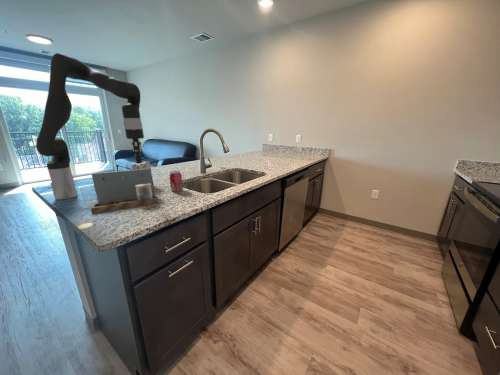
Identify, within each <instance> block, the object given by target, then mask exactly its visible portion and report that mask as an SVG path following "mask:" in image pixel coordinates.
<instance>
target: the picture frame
mask: <svg viewBox="0 0 500 375" xmlns="http://www.w3.org/2000/svg"><path fill="white" fill-rule="evenodd" d="M135 187H136V192H137V198H138V201H139V200H146V199H153V197H152V190H151V184H150V183H149V184H140V185H136V186H135Z"/></svg>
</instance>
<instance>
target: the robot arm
mask: <svg viewBox="0 0 500 375" xmlns="http://www.w3.org/2000/svg"><path fill="white" fill-rule="evenodd" d="M49 68H50V69H49V70H50V73H49V85H48V92H47V96H46V97H47V98H46V103H45V107H44V113H43V114H44V115H43V118H42V119H43V120H42V122H41V123H42V124H41V127H40V131H39V133H38V136H37V139H36V143H35V147H36V151H37V152H38V154H39V155H41V156H43V157H52V159H51V160H50V161H48V162H47V163H46V167H47V171H48V174H49V178H50V180H51V181H50V186H51V190H52V193H53V196H54V200H58V201H59V200H61V201H62V200H69V199H73V198H76V197H77V196H79V194H78V190H77V187H76V184H75V180H74V175H73V172H72V168H71V158H70V152H69V147H68V145H67V142H66V141H65V139H63V138H61V137H57V135H58V133H59V132H60V130H61V129H63V127H64V126H65V125H66V124H67V123H68V121H69V120H70V117H71V113H72V108H73V105H72V102H71V100H70V97H69V95H68V93H67V89H66V81H67V78H68V79H73V80H77V81H78V80H79V81H84V82H88V83H91V84H93V85H94V86H96V87H98V88H100V89H102V90H105V91H107V92H110V93H112V94H113V95H115V97H118V98H121V99H125V100H126V99H127V101H126V104H122V106H121V112H122V116H123V125H124V131H125V137H126V139H128V140H132V142H131V147H132V151H133V152H134V153H133V154H134V157H135V161H136V164H137V163H142V162H143V160H142V142H140V140H139V139H144V138H145V136H144V129H143V123H142V120H141V113H140V107H141V106H140V105H141V91H140V88H139V86H138V85H137V84H135V83H131V82H128V81H123V80H121V79H118V78H117V77H115V76H113V75H110V74H108V73H106V72H103V71H99V70H96V69H93V68H92V67H90V66H88V65H86V63H83V62H81V61H80V60H79V59H77V58H75V57H72V56H69V55H66V54H64V53H60V52H57V53H54V54H53V55H52V56H51V60H50V67H49Z"/></svg>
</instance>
